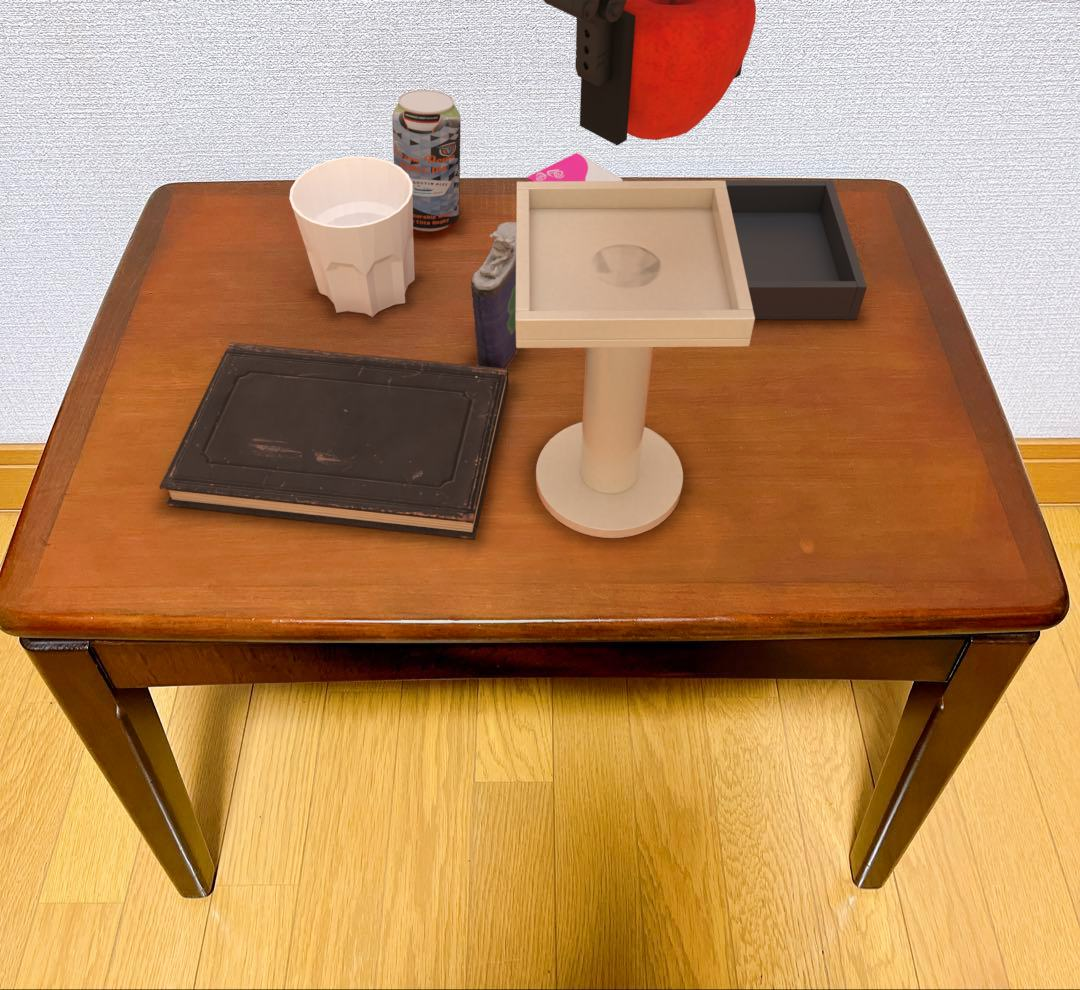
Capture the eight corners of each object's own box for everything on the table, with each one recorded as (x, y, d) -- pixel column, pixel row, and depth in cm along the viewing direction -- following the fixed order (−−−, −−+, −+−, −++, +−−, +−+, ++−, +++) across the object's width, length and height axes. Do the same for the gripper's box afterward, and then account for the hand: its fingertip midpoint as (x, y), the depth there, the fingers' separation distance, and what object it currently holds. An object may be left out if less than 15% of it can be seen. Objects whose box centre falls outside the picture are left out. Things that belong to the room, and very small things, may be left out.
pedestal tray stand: (687, 416, 81) (725, 180, 64) (706, 550, 72) (755, 318, 56) (521, 417, 80) (516, 181, 64) (521, 551, 72) (515, 319, 56)
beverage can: (388, 236, 95) (372, 118, 86) (413, 192, 100) (400, 76, 91) (452, 246, 95) (442, 128, 85) (474, 201, 99) (467, 84, 90)
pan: (824, 212, 98) (833, 180, 95) (856, 319, 88) (867, 286, 85) (663, 212, 98) (666, 180, 95) (677, 319, 88) (681, 287, 85)
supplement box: (575, 260, 93) (579, 148, 84) (619, 292, 90) (627, 180, 81) (526, 286, 91) (525, 173, 82) (569, 320, 88) (573, 207, 79)
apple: (746, 168, 54) (772, 20, 48) (580, 166, 54) (584, 18, 48) (731, 82, 59) (752, -60, 53) (580, 80, 59) (585, -62, 53)
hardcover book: (474, 540, 73) (473, 520, 71) (167, 506, 75) (158, 486, 73) (509, 384, 83) (508, 364, 81) (237, 358, 85) (231, 337, 83)
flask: (502, 303, 89) (499, 198, 81) (534, 308, 89) (534, 204, 81) (472, 373, 84) (465, 269, 75) (506, 380, 83) (503, 276, 75)
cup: (406, 329, 87) (394, 233, 79) (295, 316, 88) (272, 220, 81) (435, 258, 93) (425, 162, 86) (330, 246, 94) (312, 151, 87)
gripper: (806, -503, 45) (732, 12, 62) (434, -439, 35) (470, 149, 52) (957, -484, 41) (834, 55, 59) (591, -408, 32) (574, 210, 49)
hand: (662, 99), depth 55 cm, fingers closed on apple, 9 cm apart
